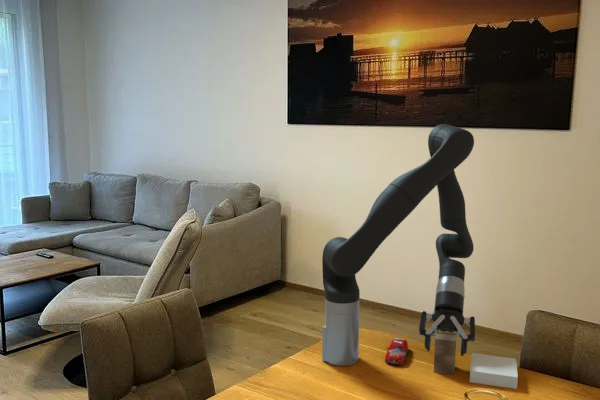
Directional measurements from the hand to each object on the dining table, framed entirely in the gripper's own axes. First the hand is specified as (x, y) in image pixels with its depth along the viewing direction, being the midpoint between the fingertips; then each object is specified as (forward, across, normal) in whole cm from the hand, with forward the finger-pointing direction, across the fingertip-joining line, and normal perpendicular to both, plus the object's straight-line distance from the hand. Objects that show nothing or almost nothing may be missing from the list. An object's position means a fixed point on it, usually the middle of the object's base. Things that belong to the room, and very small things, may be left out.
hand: (445, 352), depth 143 cm
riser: (+3, +12, +4) cm, 13 cm away
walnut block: (+3, 0, +4) cm, 5 cm away
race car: (0, -13, +7) cm, 15 cm away
